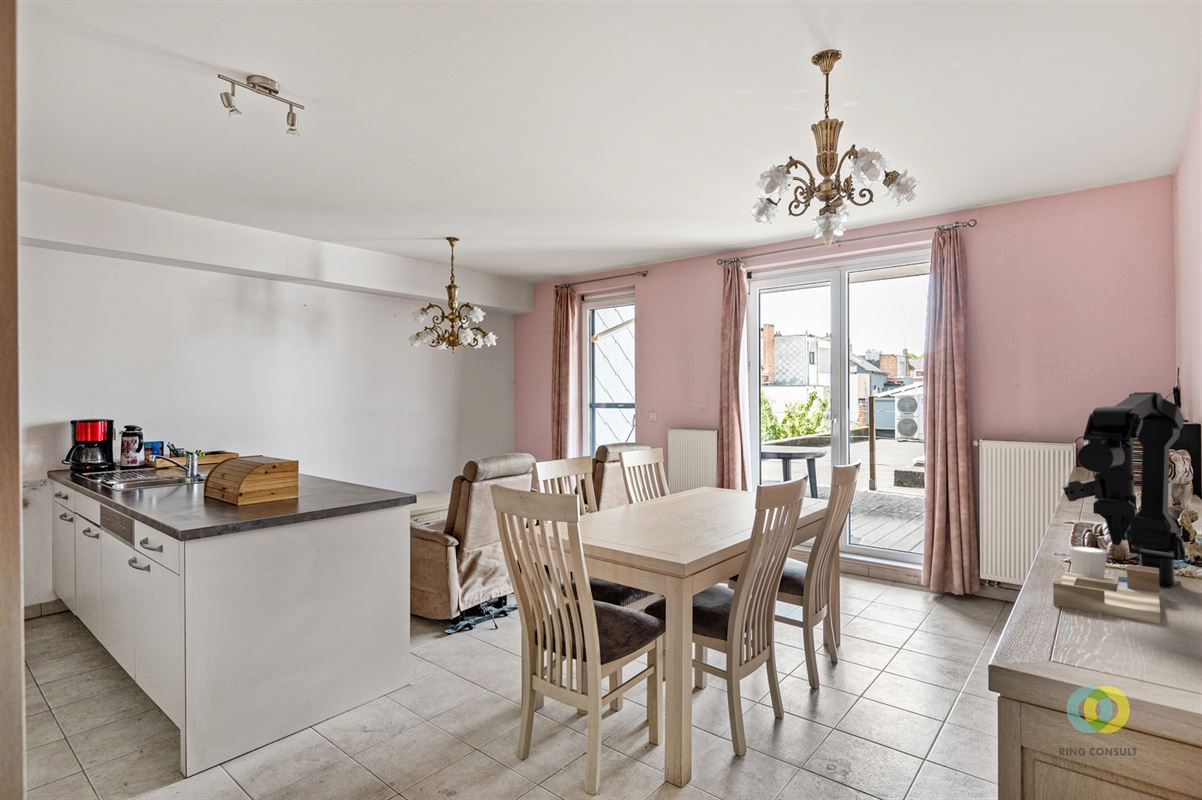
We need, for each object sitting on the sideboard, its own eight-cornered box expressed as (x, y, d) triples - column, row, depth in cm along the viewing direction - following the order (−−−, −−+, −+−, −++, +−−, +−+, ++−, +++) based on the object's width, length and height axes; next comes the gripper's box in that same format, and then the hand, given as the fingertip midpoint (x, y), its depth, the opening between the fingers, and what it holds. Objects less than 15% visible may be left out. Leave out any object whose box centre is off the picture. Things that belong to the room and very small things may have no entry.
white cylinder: (1114, 584, 137) (1114, 553, 137) (1079, 582, 138) (1079, 552, 138) (1096, 575, 144) (1096, 546, 144) (1063, 574, 145) (1063, 545, 145)
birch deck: (1064, 580, 140) (1064, 561, 140) (1158, 594, 129) (1158, 573, 129) (1053, 605, 124) (1053, 583, 124) (1160, 623, 113) (1159, 599, 113)
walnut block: (1127, 582, 132) (1127, 564, 132) (1159, 587, 129) (1158, 568, 129) (1127, 588, 129) (1127, 569, 129) (1159, 592, 125) (1159, 573, 125)
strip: (1118, 588, 134) (1118, 575, 134) (1158, 594, 130) (1158, 581, 130) (1117, 596, 128) (1117, 583, 129) (1159, 603, 124) (1158, 589, 124)
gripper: (1069, 462, 137) (1070, 531, 137) (1061, 470, 123) (1062, 547, 123) (1135, 465, 129) (1136, 538, 129) (1134, 473, 116) (1135, 556, 116)
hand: (1116, 544), depth 125 cm, fingers closed
